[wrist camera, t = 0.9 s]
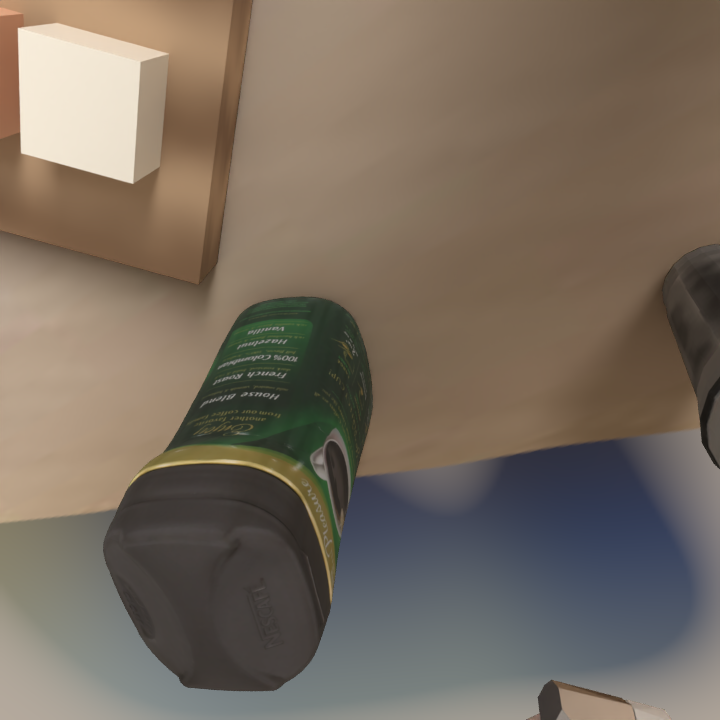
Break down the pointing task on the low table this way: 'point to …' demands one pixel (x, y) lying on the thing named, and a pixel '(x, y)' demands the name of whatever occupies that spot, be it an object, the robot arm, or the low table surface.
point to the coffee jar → (249, 502)
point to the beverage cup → (699, 333)
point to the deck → (178, 152)
